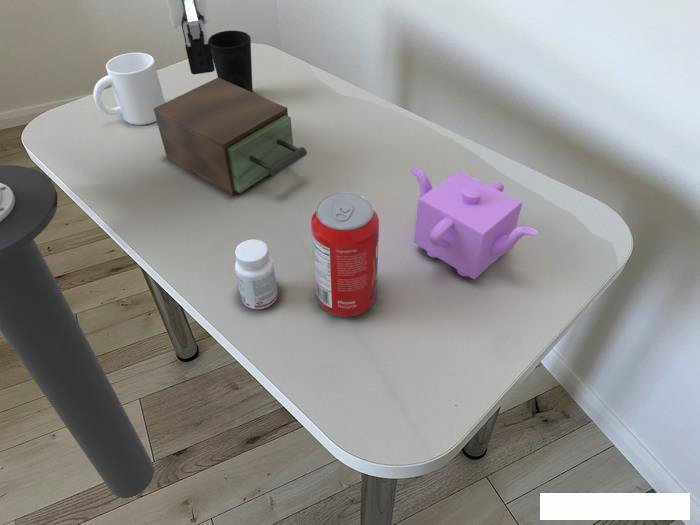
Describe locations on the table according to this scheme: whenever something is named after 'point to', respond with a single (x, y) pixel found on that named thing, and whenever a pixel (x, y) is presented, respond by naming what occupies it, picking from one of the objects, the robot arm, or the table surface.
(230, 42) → the cup
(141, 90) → the mug
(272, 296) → the pill bottle
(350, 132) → the table surface
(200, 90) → the cabinet
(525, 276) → the table surface
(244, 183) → the drawer
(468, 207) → the teapot
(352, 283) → the soda can
